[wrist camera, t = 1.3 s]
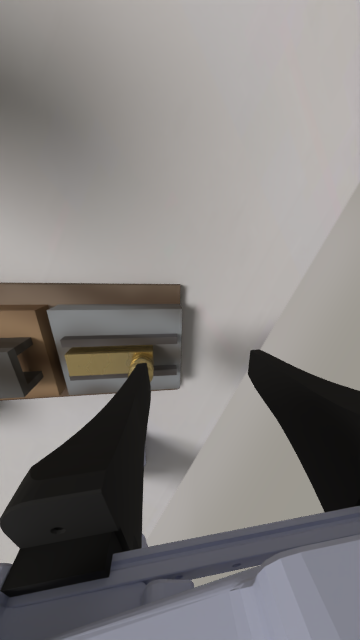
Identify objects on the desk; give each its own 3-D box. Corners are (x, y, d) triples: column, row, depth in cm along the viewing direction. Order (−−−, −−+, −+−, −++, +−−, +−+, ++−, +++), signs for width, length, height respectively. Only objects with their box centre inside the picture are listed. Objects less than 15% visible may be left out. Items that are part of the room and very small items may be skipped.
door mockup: (177, 384, 24) (182, 420, 19) (-32, 396, 21) (-97, 444, 16) (179, 284, 19) (187, 295, 14) (-95, 281, 16) (-221, 294, 11)
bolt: (154, 363, 19) (153, 386, 15) (76, 366, 18) (57, 391, 14) (154, 344, 18) (152, 363, 14) (72, 346, 17) (51, 368, 14)
